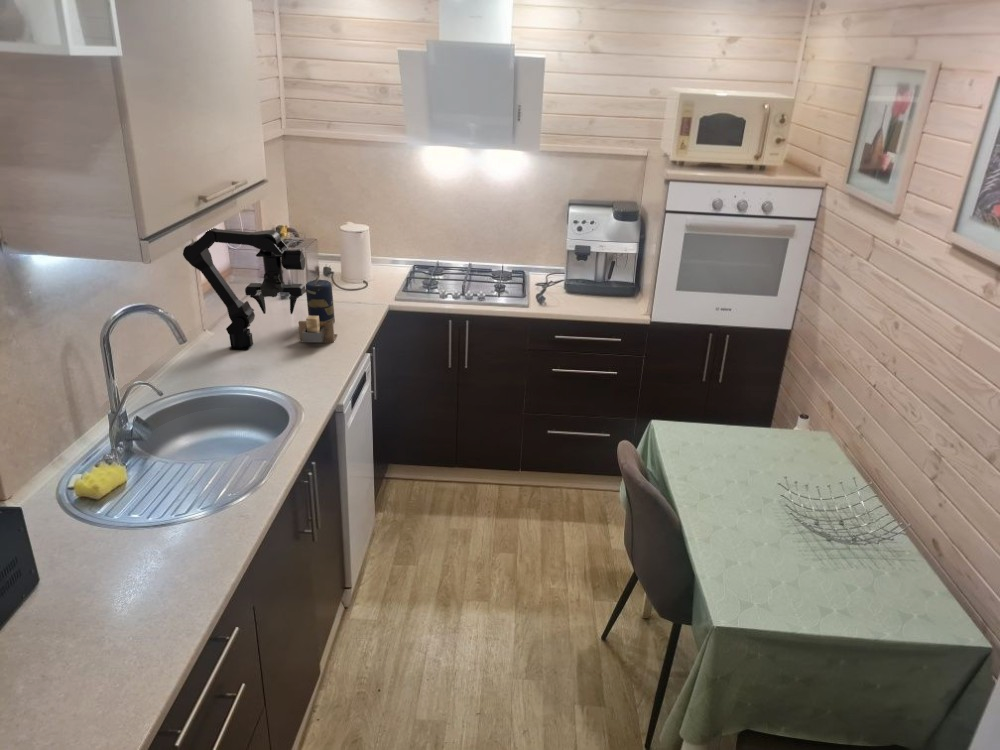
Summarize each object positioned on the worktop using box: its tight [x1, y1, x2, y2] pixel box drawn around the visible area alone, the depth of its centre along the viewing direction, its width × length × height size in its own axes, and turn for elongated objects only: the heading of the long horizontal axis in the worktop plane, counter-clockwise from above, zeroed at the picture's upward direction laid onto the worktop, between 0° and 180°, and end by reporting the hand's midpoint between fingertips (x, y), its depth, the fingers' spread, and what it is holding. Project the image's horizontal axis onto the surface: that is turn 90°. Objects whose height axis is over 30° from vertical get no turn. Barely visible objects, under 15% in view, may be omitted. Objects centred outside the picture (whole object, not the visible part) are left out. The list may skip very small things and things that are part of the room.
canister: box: [305, 278, 336, 325], centre depth 263 cm, size 10×10×18 cm
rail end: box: [305, 316, 320, 332], centre depth 245 cm, size 4×4×7 cm
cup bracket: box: [298, 320, 338, 343], centre depth 249 cm, size 12×13×8 cm
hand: (278, 313), depth 240 cm, fingers open, 9 cm apart
